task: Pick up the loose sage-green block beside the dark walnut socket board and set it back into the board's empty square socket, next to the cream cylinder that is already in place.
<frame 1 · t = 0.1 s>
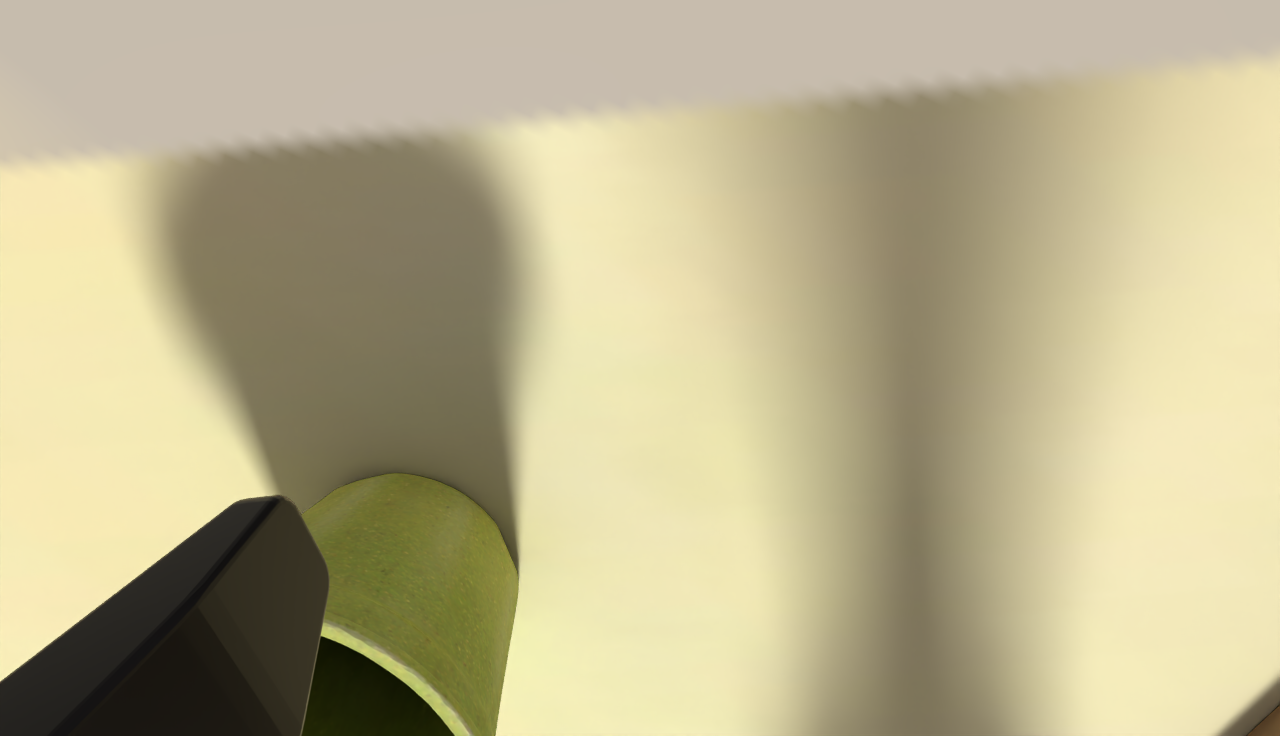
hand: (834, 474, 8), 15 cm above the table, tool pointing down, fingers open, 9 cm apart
plant pot: (414, 563, 27), on the table
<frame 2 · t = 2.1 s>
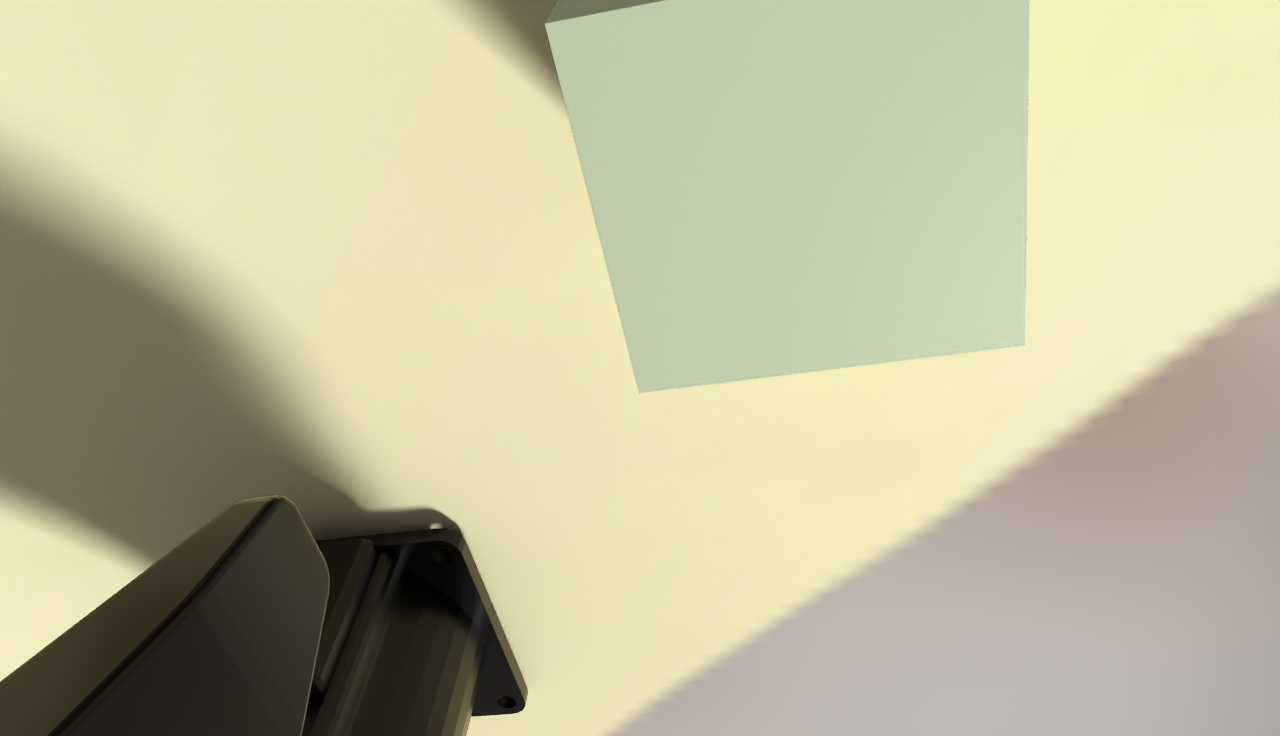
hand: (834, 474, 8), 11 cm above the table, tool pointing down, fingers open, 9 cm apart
sage block: (782, 41, 16), on the table
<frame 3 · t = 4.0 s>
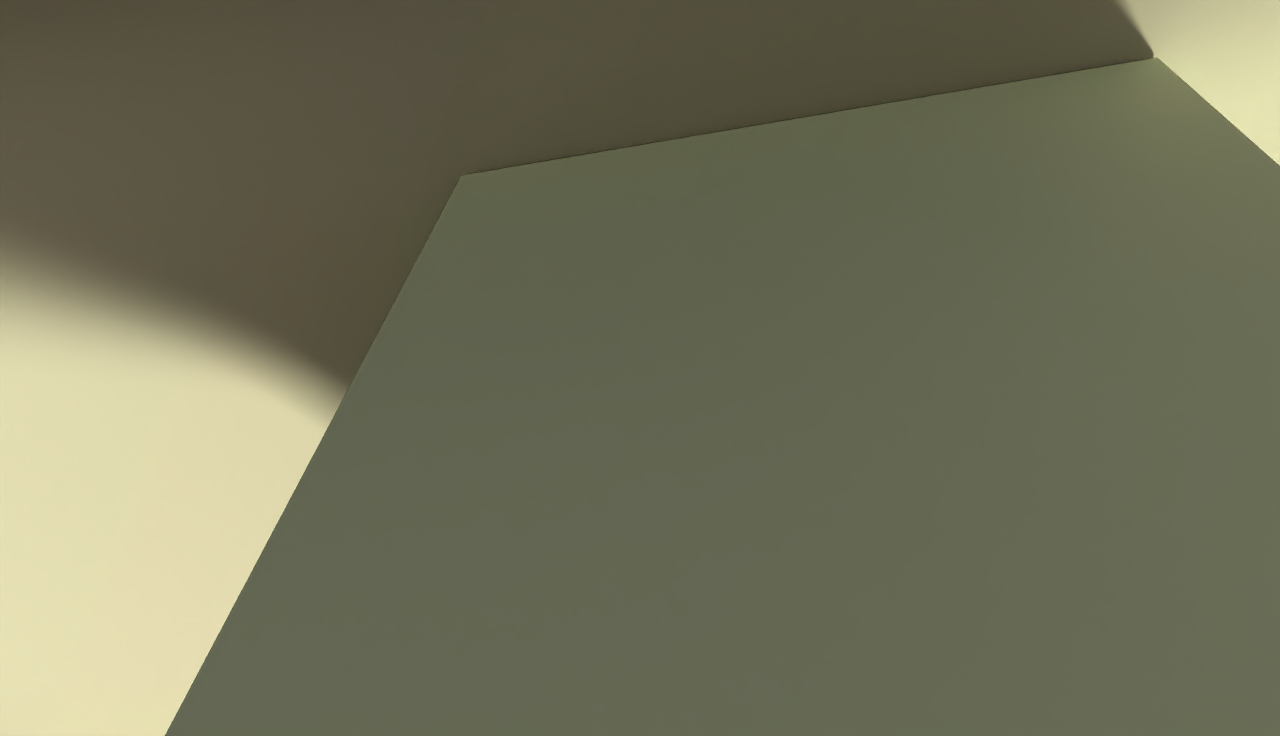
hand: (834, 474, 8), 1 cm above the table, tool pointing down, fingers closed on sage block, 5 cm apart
sage block: (823, 395, 9), on the table, touching gripper
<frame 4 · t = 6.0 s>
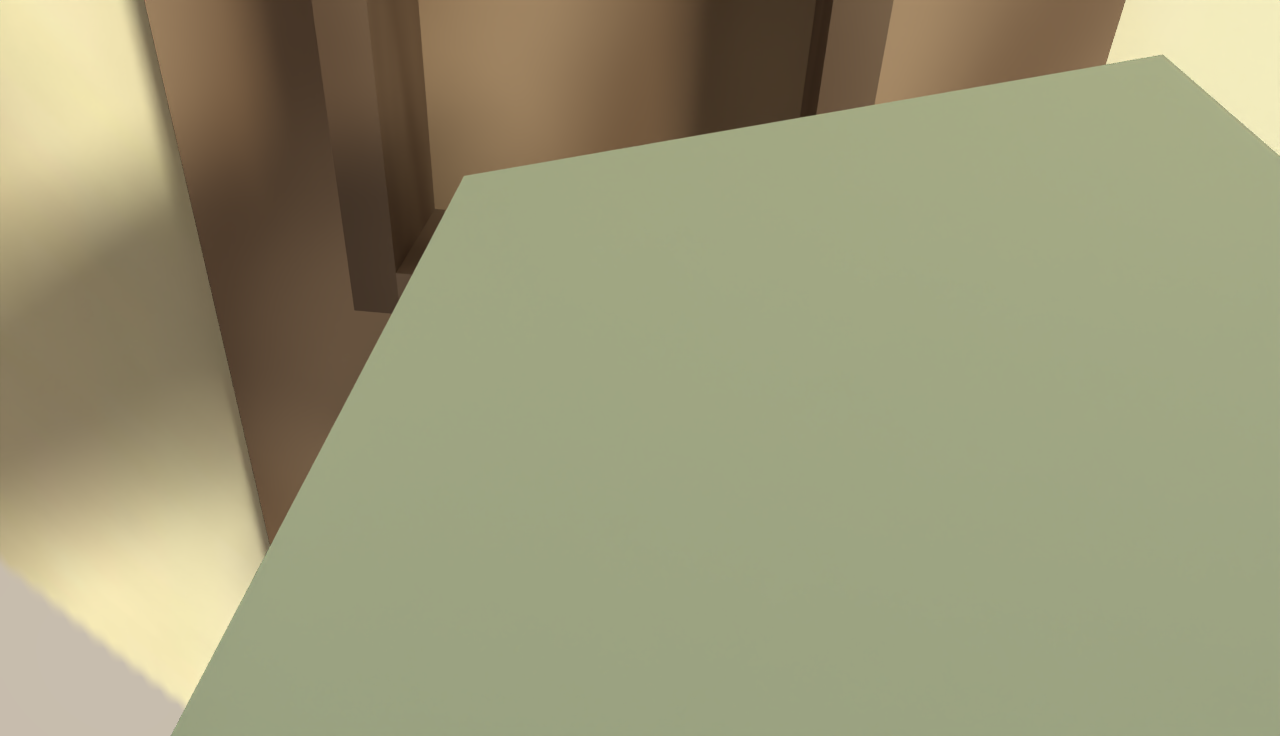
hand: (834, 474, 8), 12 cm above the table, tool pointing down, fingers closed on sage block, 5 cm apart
sage block: (827, 395, 9), point 11 cm above the table, touching gripper
socket board: (610, 300, 20), on the table
when the fingers open (4 cm above the table, at t = 7.9 s): sage block drops 2 cm, resting on socket board.
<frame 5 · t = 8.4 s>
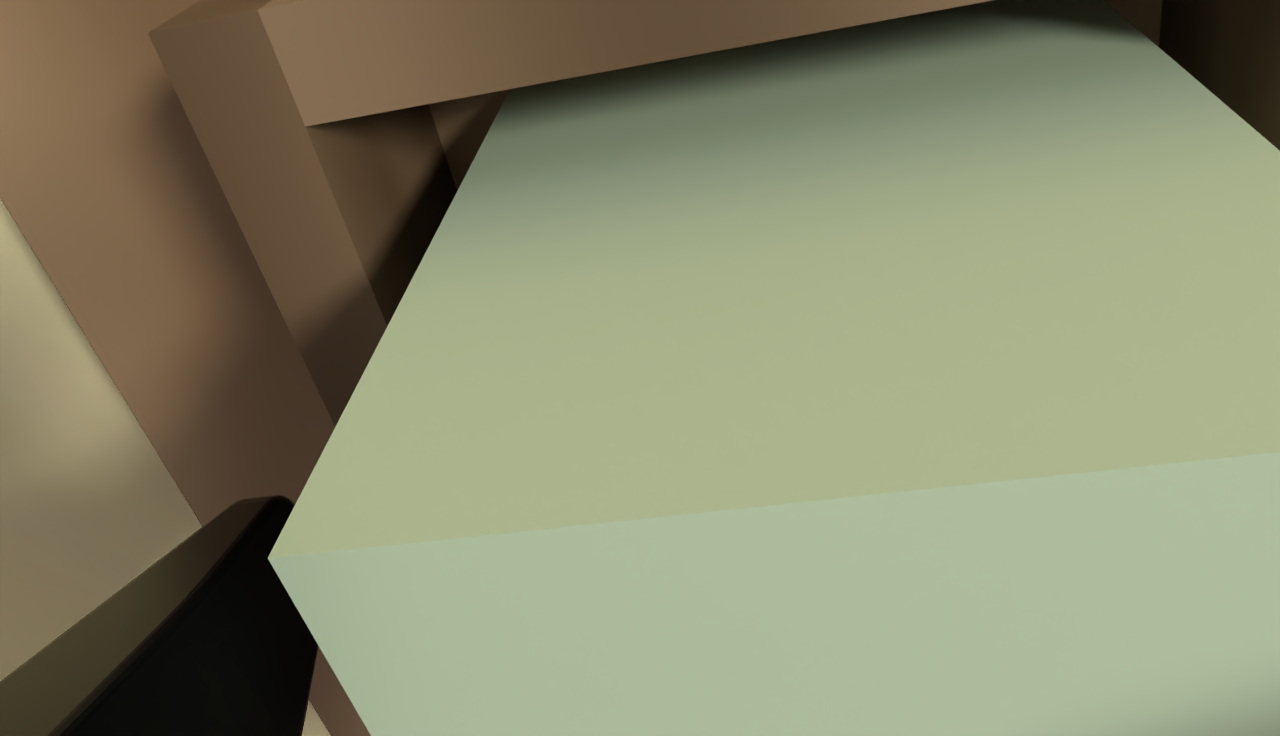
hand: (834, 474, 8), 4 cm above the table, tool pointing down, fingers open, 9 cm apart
sage block: (812, 279, 10), point 1 cm above the table, touching socket board
socket board: (842, 581, 14), on the table
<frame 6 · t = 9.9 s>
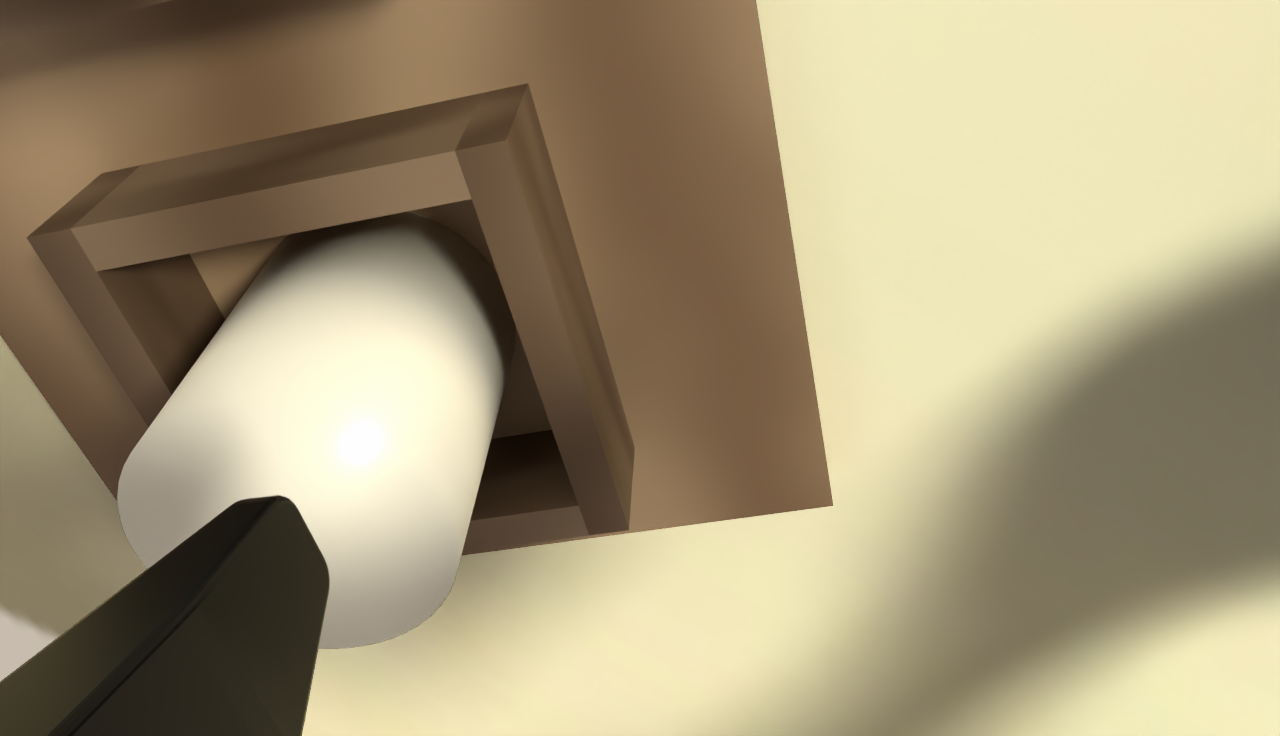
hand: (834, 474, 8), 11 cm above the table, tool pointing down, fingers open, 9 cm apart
cream cylinder: (390, 321, 20), point 1 cm above the table, touching socket board
socket board: (291, 30, 17), on the table
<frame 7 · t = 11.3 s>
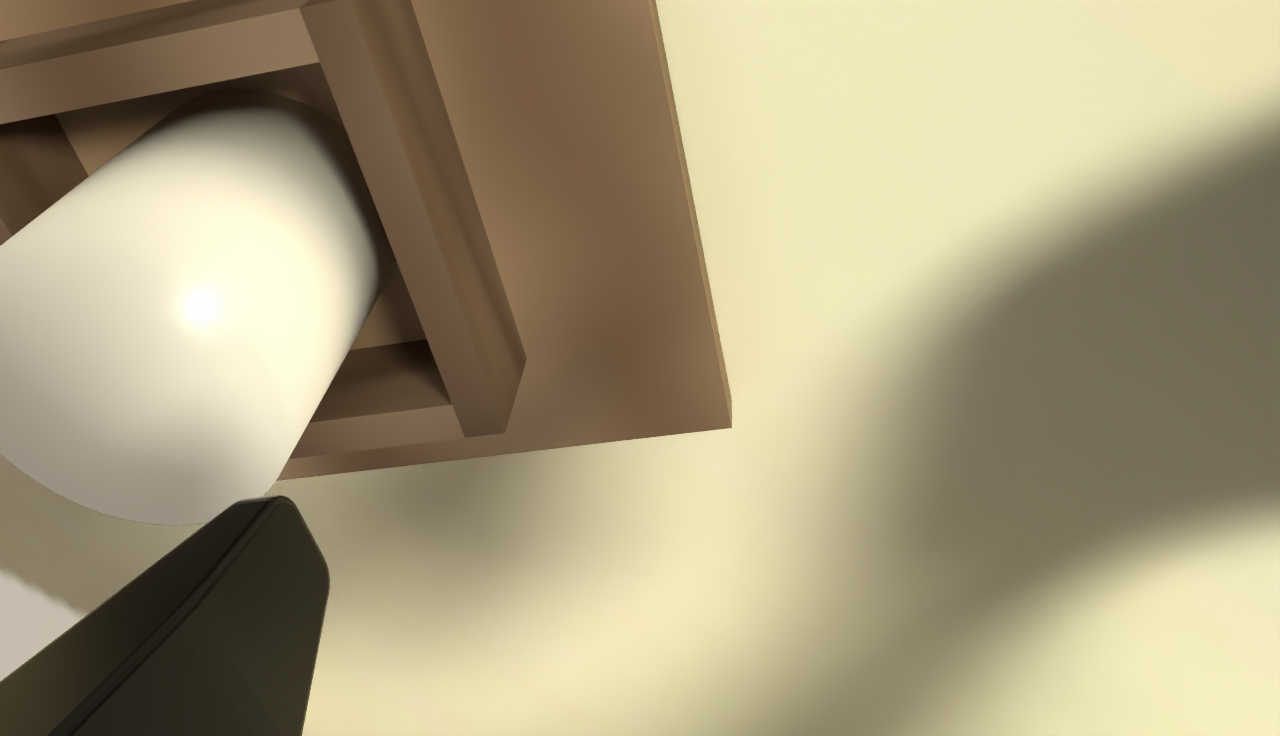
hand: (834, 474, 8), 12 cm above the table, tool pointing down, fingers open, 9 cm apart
cream cylinder: (272, 214, 19), point 1 cm above the table, touching socket board
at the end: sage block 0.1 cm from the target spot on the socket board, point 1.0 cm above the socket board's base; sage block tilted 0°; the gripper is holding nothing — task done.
